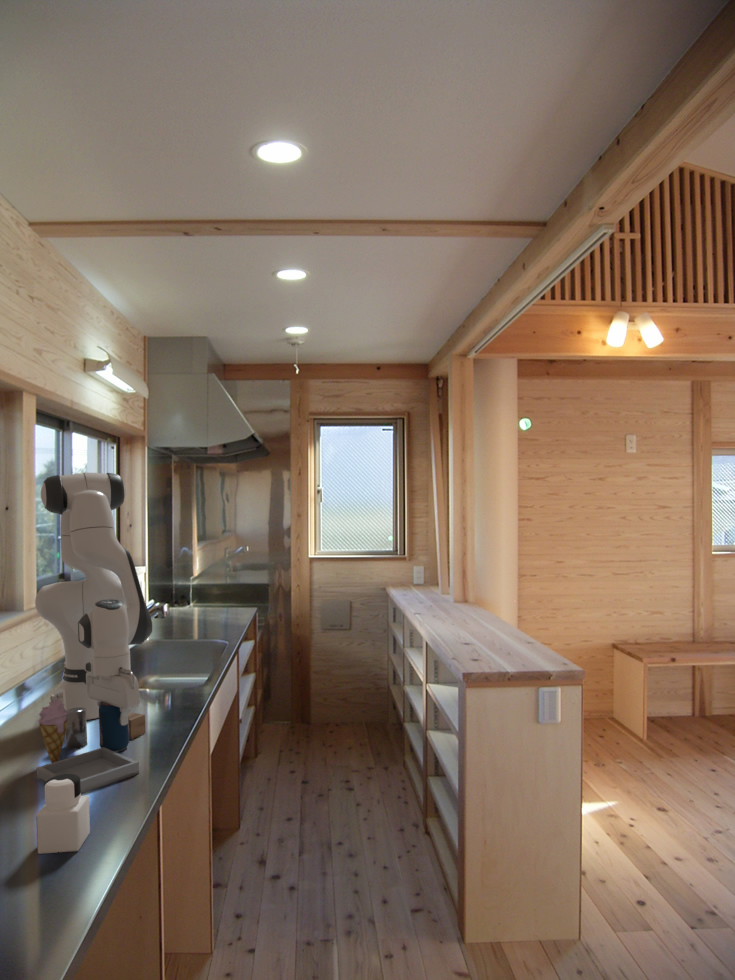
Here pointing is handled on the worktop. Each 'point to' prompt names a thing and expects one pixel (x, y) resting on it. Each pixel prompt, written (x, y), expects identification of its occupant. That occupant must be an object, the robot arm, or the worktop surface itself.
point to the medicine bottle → (63, 816)
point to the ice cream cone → (53, 728)
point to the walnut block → (136, 725)
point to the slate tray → (92, 768)
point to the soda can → (112, 728)
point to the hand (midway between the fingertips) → (113, 721)
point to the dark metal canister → (76, 728)
